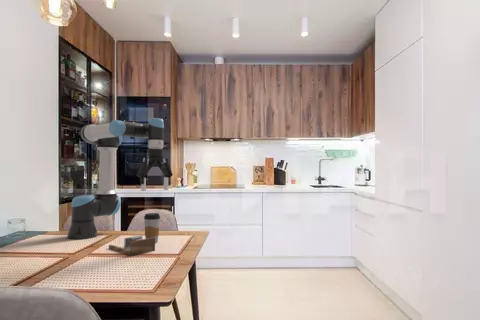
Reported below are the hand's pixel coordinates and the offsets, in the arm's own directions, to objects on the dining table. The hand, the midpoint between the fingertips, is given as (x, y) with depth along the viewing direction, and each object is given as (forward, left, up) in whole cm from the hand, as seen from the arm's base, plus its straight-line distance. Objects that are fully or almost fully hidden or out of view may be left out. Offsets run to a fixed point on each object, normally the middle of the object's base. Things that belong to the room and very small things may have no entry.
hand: (155, 190), depth 163 cm
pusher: (+1, -11, -28) cm, 30 cm away
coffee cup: (-7, +4, -28) cm, 29 cm away
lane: (-2, -11, -28) cm, 30 cm away
